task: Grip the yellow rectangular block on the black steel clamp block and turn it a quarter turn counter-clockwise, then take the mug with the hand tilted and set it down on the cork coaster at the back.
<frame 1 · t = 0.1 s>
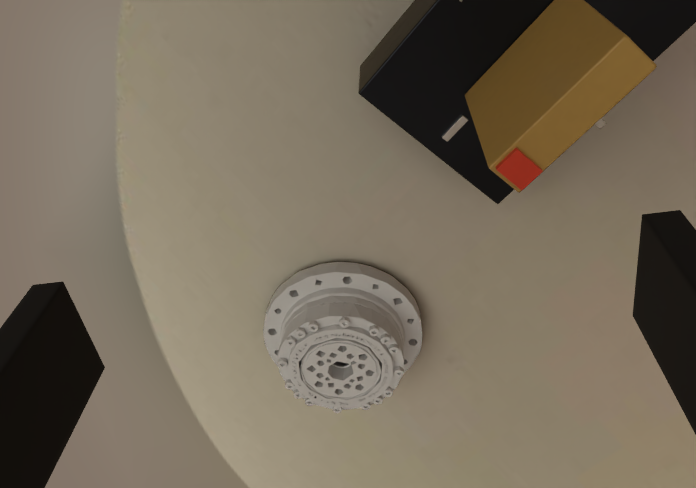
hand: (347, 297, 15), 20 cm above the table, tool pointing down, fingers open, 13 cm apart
clamp block: (509, 30, 32), on the table
mechanical component: (343, 320, 42), on the table
yellow rectangular block: (545, 84, 25), point 8 cm above the table, hinge at 0.0°
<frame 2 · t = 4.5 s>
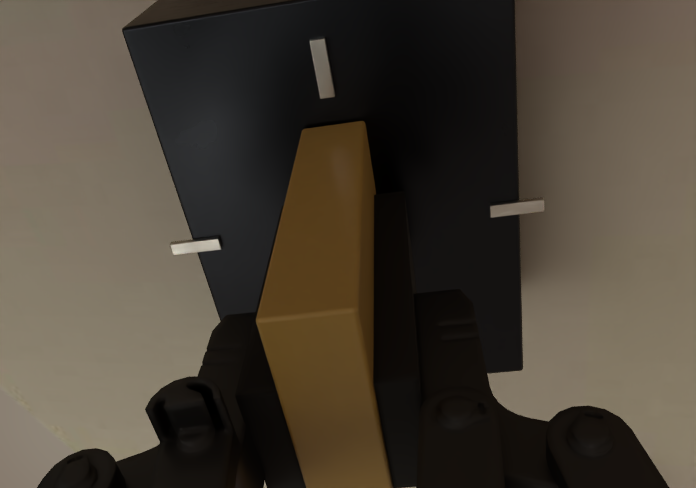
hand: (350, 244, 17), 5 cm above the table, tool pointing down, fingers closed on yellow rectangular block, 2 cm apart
clamp block: (355, 162, 21), on the table
yellow rectangular block: (346, 316, 14), point 8 cm above the table, hinge at 0.0°, touching gripper
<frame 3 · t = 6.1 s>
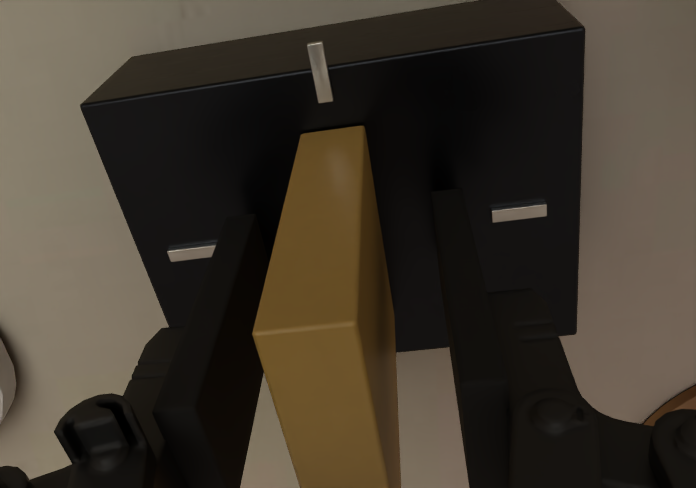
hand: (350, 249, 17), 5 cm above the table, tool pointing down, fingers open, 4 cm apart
clamp block: (355, 166, 21), on the table
yellow rectangular block: (345, 325, 14), point 8 cm above the table, hinge at 89.7°
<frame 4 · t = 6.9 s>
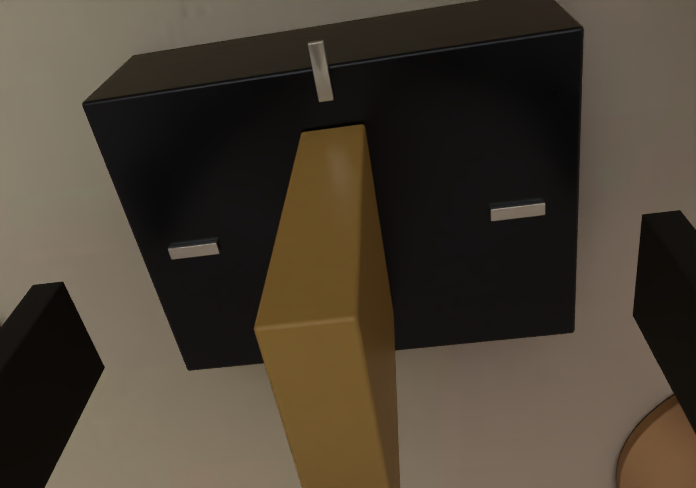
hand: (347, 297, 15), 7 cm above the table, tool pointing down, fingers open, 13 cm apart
clamp block: (355, 164, 21), on the table
yellow rectangular block: (345, 322, 14), point 8 cm above the table, hinge at 89.7°
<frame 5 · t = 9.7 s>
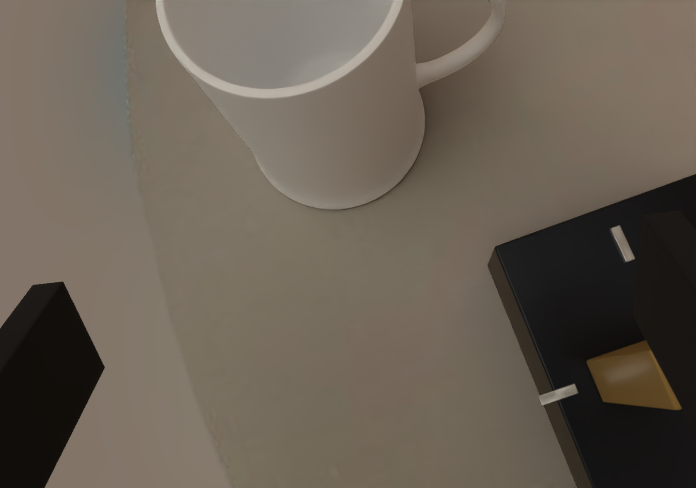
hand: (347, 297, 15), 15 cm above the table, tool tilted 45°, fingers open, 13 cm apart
mug: (370, 123, 32), on the table
clamp block: (640, 358, 28), on the table
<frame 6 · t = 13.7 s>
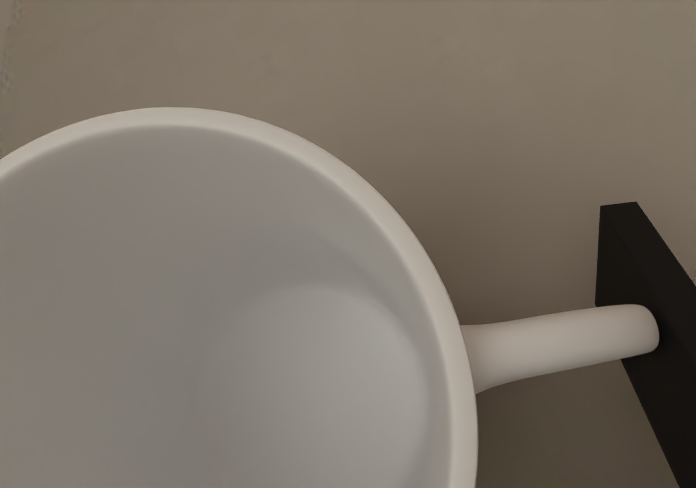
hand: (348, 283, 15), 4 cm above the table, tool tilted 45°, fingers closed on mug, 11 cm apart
mug: (371, 394, 19), on the table, touching gripper
when the fingers open (5 cm above the table, at t = 24.3 s): mug stays where it is, resting on coaster.
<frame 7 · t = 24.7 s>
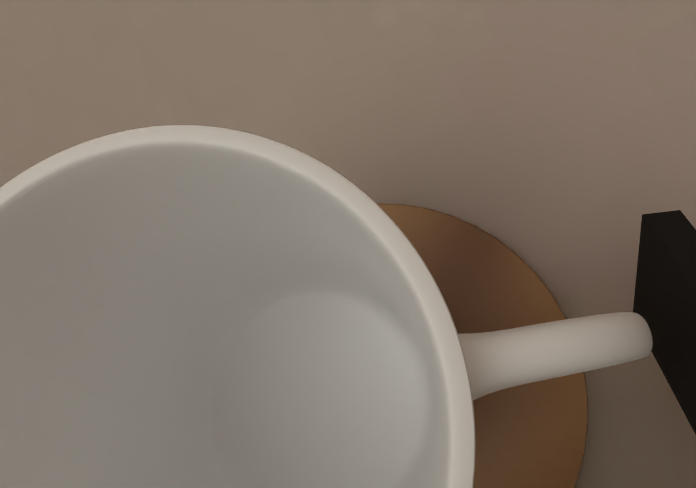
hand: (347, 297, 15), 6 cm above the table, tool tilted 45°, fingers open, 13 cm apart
mug: (374, 397, 20), resting on coaster
coaster: (380, 396, 20), on the table
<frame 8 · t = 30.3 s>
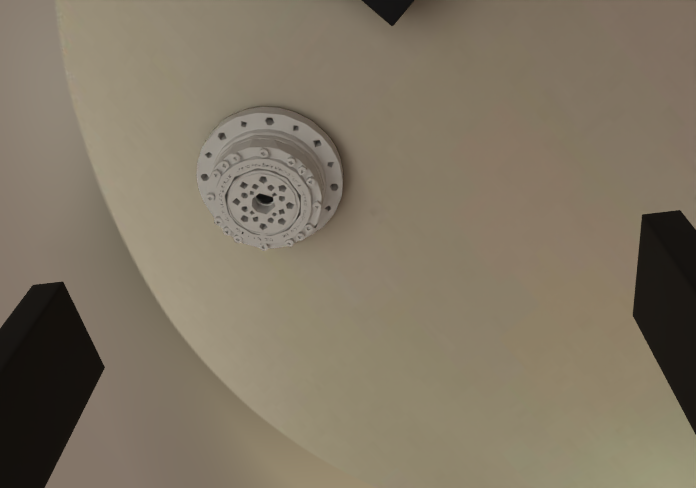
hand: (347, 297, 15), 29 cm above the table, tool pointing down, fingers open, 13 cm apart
mechanical component: (272, 171, 45), on the table
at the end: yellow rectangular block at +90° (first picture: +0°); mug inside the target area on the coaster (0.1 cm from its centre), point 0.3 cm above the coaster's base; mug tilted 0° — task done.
